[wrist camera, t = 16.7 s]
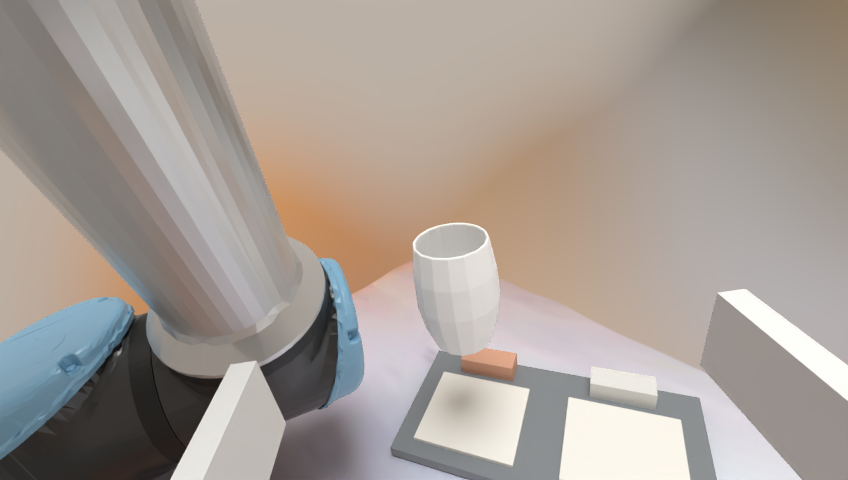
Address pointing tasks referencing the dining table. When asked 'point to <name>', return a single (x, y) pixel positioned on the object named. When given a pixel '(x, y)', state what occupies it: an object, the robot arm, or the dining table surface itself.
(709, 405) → the dining table surface
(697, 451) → the coaster board
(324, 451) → the dining table surface
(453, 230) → the cup
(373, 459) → the dining table surface
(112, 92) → the robot arm
